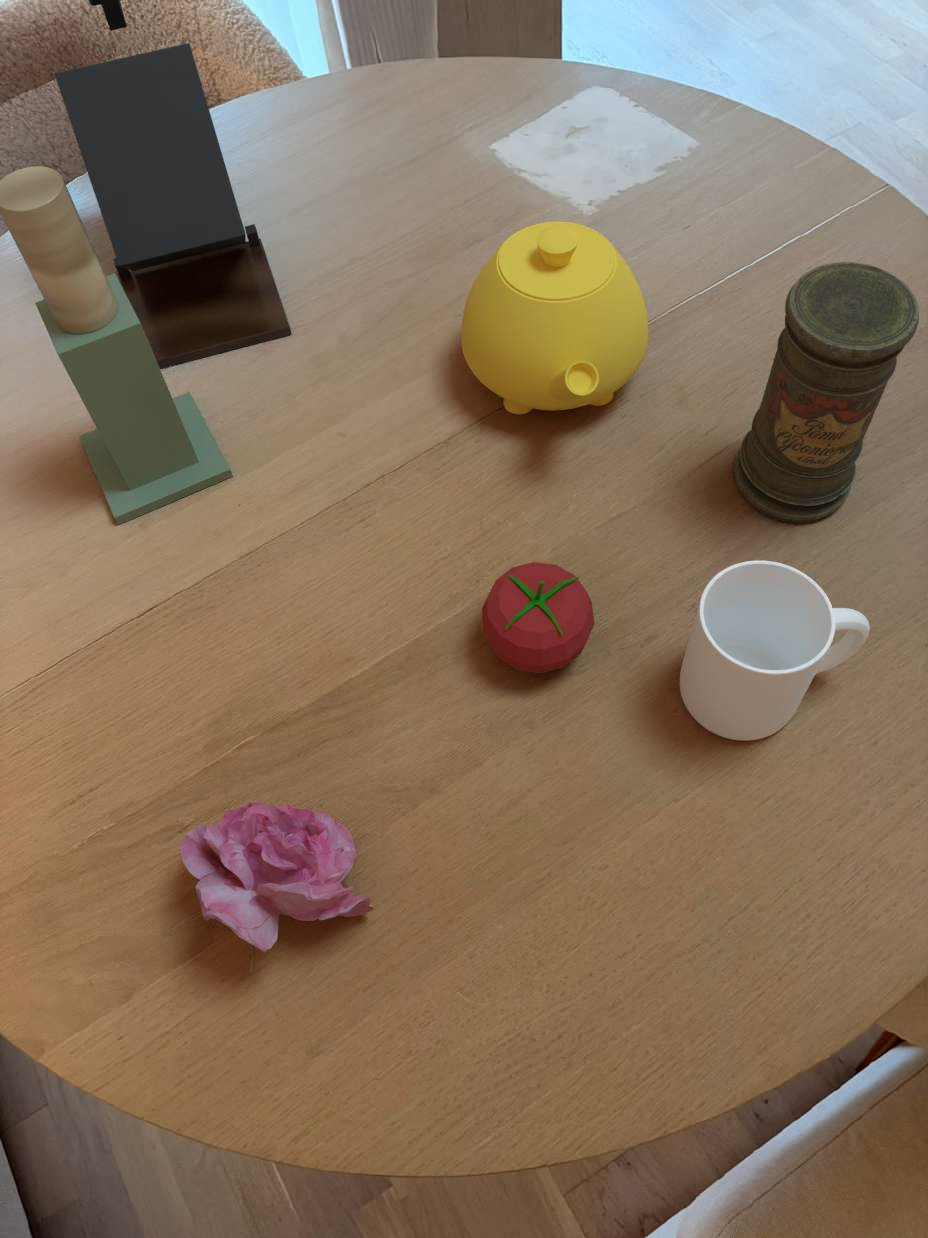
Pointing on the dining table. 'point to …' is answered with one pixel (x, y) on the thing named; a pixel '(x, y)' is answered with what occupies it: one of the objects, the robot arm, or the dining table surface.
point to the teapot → (554, 320)
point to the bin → (152, 156)
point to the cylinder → (57, 249)
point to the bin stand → (207, 302)
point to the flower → (271, 869)
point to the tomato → (537, 617)
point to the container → (824, 389)
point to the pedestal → (135, 416)
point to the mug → (761, 648)
